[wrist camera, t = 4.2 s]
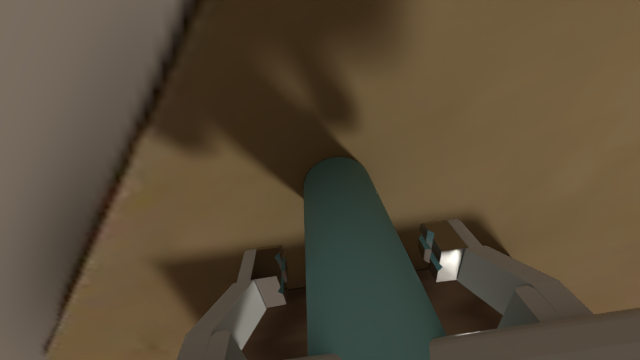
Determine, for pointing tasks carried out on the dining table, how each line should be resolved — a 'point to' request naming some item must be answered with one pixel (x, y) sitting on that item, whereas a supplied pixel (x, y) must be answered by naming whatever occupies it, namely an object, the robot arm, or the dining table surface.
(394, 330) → the peg
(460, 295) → the box
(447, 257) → the robot arm
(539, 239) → the dining table surface
